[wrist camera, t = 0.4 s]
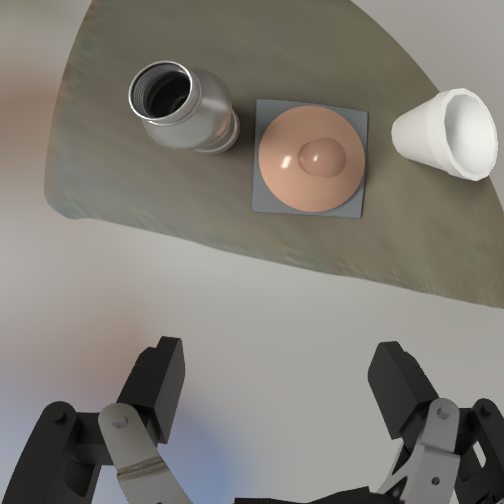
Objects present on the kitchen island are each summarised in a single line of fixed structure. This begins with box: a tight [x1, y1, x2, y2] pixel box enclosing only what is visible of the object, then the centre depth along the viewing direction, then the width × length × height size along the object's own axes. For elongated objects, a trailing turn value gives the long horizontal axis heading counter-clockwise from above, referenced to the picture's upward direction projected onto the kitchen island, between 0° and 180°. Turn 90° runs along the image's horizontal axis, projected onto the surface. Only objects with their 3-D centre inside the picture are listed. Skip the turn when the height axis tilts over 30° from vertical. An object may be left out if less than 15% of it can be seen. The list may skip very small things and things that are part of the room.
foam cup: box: [391, 88, 498, 181], centre depth 24 cm, size 10×9×13 cm
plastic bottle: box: [128, 60, 240, 155], centre depth 21 cm, size 6×7×20 cm
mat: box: [252, 99, 367, 218], centre depth 31 cm, size 14×14×1 cm
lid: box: [259, 106, 365, 212], centre depth 28 cm, size 13×13×7 cm
